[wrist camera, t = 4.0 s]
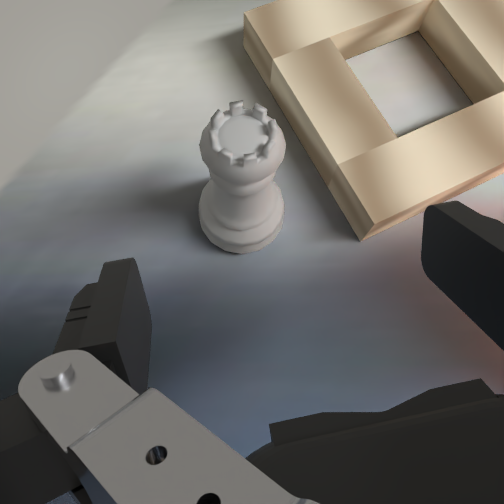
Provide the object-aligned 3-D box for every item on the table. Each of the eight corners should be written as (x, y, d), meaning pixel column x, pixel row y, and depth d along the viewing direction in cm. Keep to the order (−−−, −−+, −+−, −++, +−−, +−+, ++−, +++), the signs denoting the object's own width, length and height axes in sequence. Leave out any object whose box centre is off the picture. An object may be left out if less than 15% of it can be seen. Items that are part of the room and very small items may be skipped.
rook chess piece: (181, 217, 23) (154, 130, 15) (240, 163, 24) (241, 58, 17) (242, 274, 22) (244, 212, 15) (300, 216, 23) (330, 130, 16)
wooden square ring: (360, 241, 23) (374, 224, 21) (243, 46, 27) (243, 12, 24) (567, 142, 25) (602, 116, 23) (433, -26, 29) (451, -63, 26)
